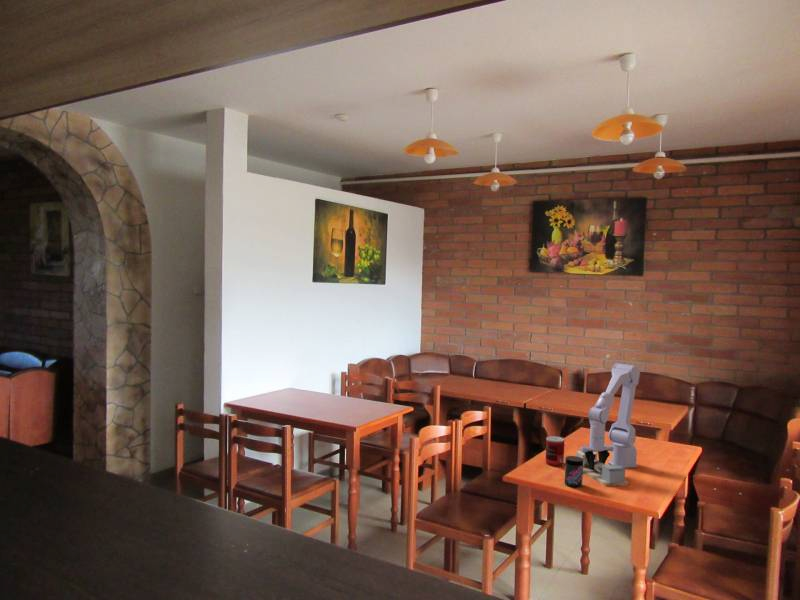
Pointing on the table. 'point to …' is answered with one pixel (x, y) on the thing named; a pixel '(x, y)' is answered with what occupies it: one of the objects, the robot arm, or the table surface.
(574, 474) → the supplement container
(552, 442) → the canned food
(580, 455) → the sleeve
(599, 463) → the tube
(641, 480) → the table surface
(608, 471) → the socket
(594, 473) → the board
